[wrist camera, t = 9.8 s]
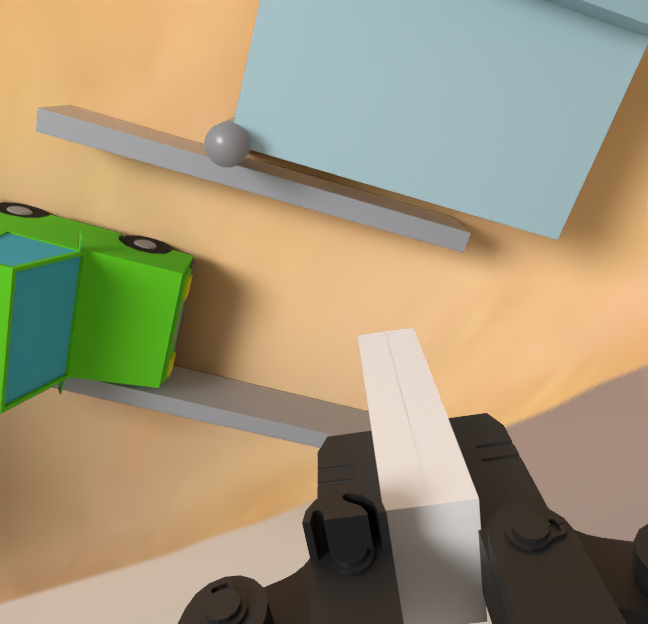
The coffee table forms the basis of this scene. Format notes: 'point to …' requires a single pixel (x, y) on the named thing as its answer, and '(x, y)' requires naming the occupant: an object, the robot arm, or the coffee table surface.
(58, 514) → the coffee table surface
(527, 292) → the coffee table surface
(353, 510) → the robot arm
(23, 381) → the toy car
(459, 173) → the cover
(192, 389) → the grey long bars
